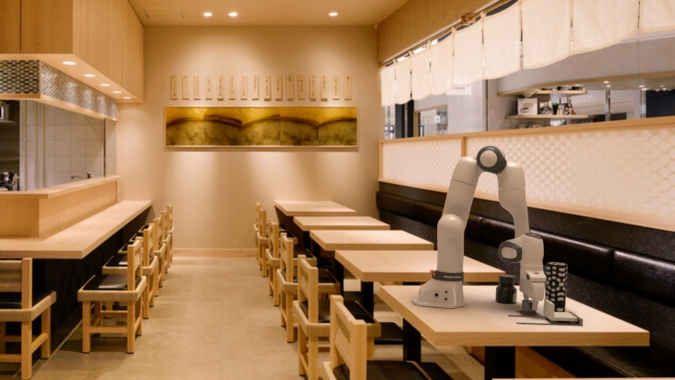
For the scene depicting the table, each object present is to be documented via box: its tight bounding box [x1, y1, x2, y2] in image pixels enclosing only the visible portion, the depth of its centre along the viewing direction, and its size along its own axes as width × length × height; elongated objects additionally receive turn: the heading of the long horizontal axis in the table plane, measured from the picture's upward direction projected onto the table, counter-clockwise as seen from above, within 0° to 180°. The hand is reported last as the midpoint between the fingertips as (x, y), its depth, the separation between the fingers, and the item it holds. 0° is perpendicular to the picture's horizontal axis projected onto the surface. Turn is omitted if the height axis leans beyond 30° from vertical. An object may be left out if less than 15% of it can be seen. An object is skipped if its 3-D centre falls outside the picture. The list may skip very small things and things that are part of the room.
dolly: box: [542, 298, 577, 324], centre depth 250 cm, size 10×9×8 cm
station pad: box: [516, 310, 542, 316], centre depth 262 cm, size 8×8×1 cm
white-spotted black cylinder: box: [544, 261, 568, 312], centre depth 269 cm, size 8×8×20 cm
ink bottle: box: [494, 274, 518, 305], centre depth 282 cm, size 10×9×12 cm
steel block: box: [521, 299, 537, 315], centre depth 262 cm, size 4×4×5 cm
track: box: [507, 311, 584, 327], centre depth 250 cm, size 25×12×3 cm, turn 90°
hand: (530, 307), depth 262 cm, fingers open, 8 cm apart
